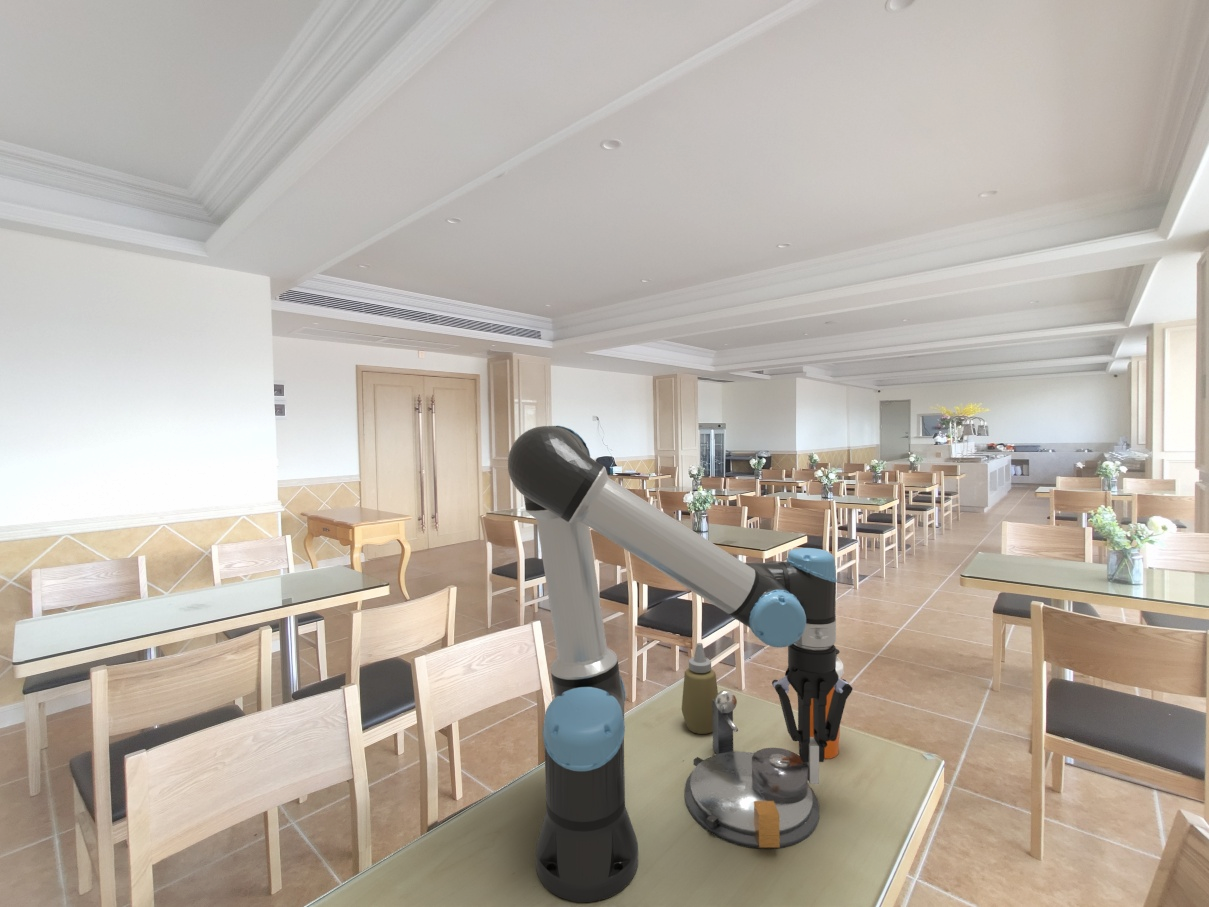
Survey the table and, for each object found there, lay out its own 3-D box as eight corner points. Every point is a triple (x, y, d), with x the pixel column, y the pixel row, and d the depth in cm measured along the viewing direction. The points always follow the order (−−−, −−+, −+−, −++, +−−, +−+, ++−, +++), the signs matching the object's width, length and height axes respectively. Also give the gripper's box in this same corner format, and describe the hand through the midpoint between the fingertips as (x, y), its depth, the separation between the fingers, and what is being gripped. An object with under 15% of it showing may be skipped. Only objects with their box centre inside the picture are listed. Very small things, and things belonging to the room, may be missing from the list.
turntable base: (693, 849, 84) (693, 842, 84) (678, 761, 106) (678, 756, 106) (841, 849, 83) (841, 842, 83) (794, 760, 105) (794, 755, 105)
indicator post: (726, 773, 102) (725, 704, 101) (710, 749, 110) (709, 684, 109) (746, 770, 102) (745, 702, 102) (729, 746, 110) (728, 682, 110)
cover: (759, 803, 90) (759, 776, 89) (746, 769, 99) (746, 744, 98) (815, 803, 89) (815, 775, 89) (797, 769, 98) (797, 744, 98)
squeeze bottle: (692, 713, 123) (691, 634, 122) (726, 724, 118) (725, 641, 118) (674, 730, 117) (673, 646, 116) (710, 742, 112) (709, 654, 111)
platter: (701, 847, 82) (701, 814, 82) (684, 758, 105) (683, 732, 104) (837, 847, 82) (837, 814, 81) (791, 757, 104) (790, 731, 104)
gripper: (778, 651, 89) (779, 793, 90) (860, 650, 89) (860, 793, 90) (766, 634, 97) (767, 765, 98) (842, 633, 96) (841, 765, 97)
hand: (811, 778), depth 94 cm, fingers closed
